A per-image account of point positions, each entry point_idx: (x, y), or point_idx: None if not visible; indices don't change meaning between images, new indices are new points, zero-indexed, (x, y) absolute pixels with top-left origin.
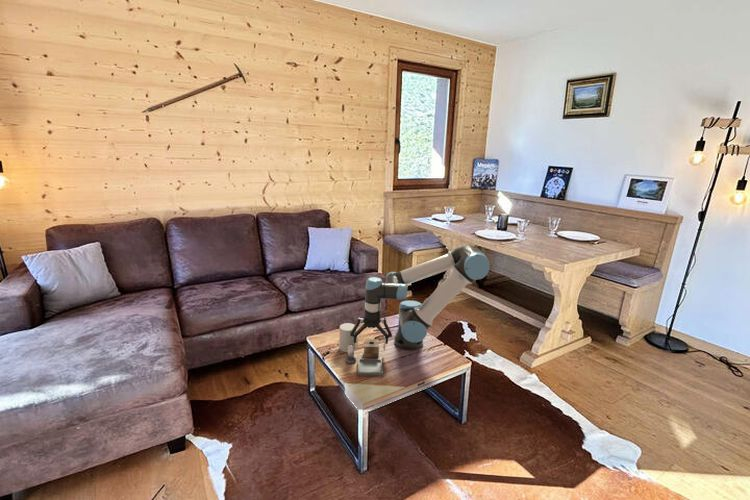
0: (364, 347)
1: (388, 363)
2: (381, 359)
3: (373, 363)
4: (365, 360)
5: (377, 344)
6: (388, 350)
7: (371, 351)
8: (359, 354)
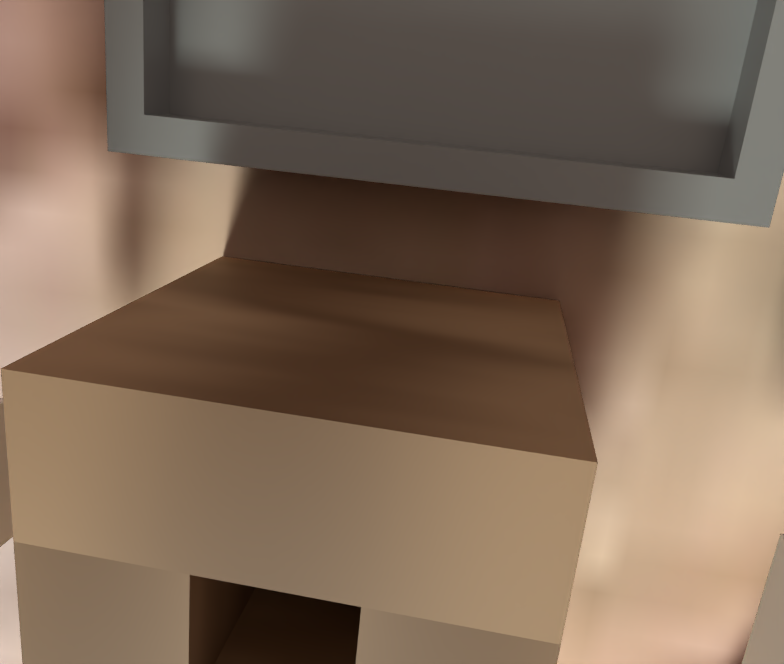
0: (592, 445)
1: (9, 75)
2: (118, 114)
3: (352, 27)
4: (554, 157)
5: (61, 536)
6: (13, 556)
7: (340, 345)
8: (635, 515)
